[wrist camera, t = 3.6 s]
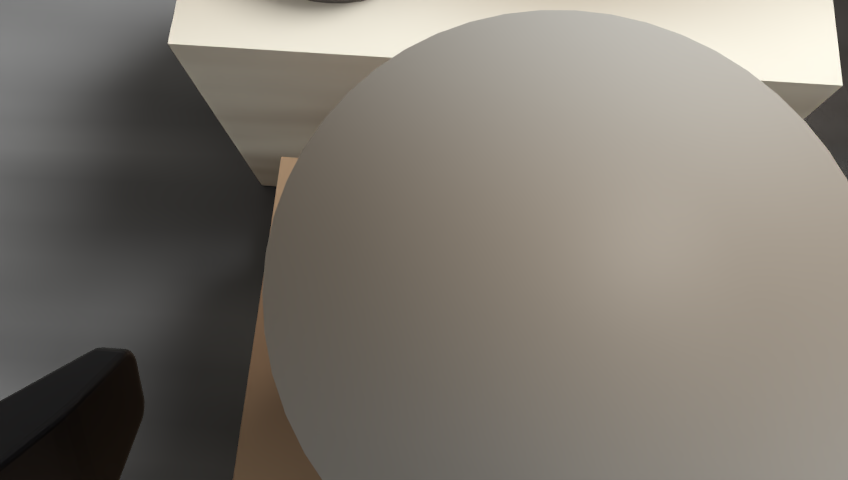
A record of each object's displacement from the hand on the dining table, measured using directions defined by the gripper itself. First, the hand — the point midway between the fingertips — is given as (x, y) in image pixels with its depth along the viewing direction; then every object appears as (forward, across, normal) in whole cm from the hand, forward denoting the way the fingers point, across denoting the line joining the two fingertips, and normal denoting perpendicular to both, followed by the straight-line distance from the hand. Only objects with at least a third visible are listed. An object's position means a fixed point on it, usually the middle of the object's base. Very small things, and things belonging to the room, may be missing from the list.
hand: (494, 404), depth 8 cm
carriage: (+4, 0, +4) cm, 6 cm away
